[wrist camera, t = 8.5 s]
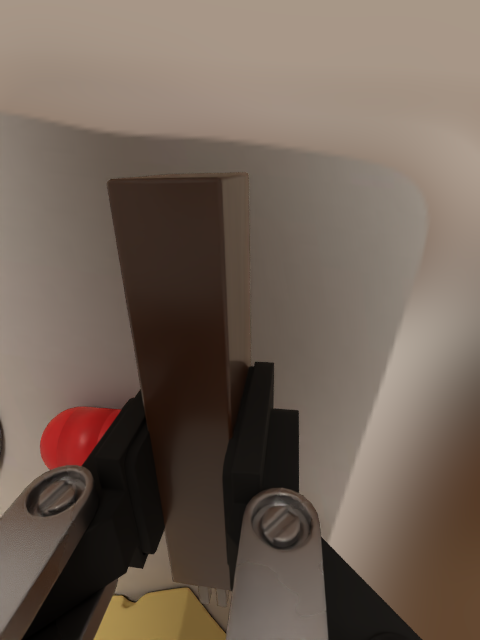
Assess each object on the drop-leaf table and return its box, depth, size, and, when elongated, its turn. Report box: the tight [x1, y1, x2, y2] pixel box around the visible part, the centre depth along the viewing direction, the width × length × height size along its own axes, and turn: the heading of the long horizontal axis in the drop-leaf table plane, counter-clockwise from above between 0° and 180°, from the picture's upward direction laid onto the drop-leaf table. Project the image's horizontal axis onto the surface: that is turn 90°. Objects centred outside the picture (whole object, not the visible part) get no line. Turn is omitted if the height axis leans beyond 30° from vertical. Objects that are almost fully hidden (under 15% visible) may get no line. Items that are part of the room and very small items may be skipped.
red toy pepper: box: [40, 407, 121, 470], centre depth 18 cm, size 4×6×4 cm, turn 91°
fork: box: [107, 172, 251, 607], centre depth 10 cm, size 3×16×3 cm, turn 1°
